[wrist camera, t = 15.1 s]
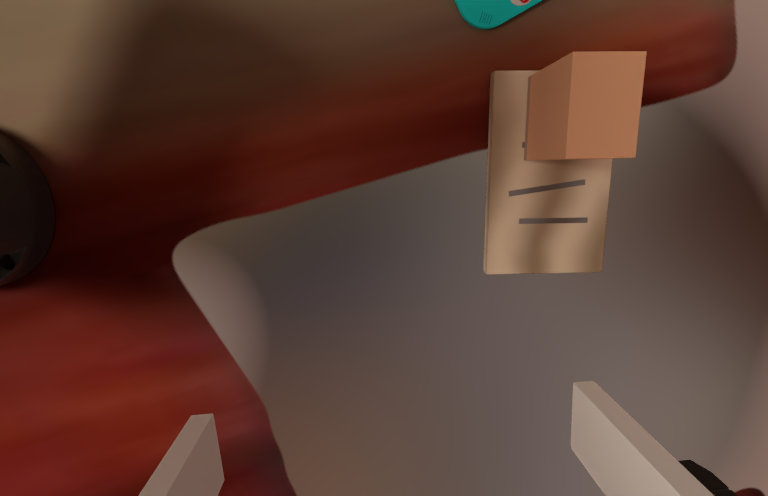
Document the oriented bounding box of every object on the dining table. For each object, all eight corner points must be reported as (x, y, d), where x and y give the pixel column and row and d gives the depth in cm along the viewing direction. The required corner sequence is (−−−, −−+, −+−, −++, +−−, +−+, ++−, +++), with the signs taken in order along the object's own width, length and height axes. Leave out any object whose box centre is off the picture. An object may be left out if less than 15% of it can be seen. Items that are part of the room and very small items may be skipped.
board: (483, 271, 40) (486, 274, 39) (490, 73, 36) (494, 70, 35) (594, 269, 40) (601, 272, 39) (613, 73, 37) (621, 69, 35)
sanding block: (523, 160, 37) (565, 158, 29) (528, 77, 35) (573, 51, 27) (579, 159, 37) (635, 157, 29) (585, 76, 35) (646, 51, 28)
